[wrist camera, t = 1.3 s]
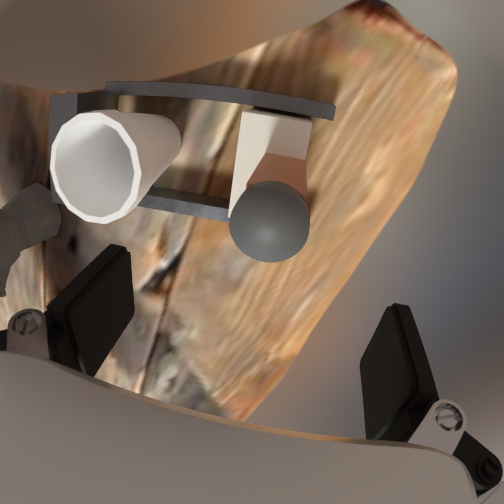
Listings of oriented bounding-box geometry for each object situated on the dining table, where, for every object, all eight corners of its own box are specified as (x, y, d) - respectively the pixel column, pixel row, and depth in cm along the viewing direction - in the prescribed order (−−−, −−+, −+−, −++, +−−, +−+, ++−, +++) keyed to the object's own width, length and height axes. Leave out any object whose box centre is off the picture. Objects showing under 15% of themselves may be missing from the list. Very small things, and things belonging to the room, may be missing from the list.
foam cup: (110, 156, 36) (41, 190, 24) (140, 88, 31) (67, 95, 20) (173, 194, 37) (119, 243, 26) (209, 126, 33) (160, 146, 21)
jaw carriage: (296, 208, 35) (289, 306, 20) (239, 197, 36) (189, 285, 20) (314, 120, 30) (328, 146, 15) (252, 108, 31) (202, 124, 15)
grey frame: (306, 227, 36) (306, 261, 29) (90, 188, 38) (53, 210, 31) (332, 104, 30) (342, 107, 23) (92, 82, 31) (50, 85, 24)
